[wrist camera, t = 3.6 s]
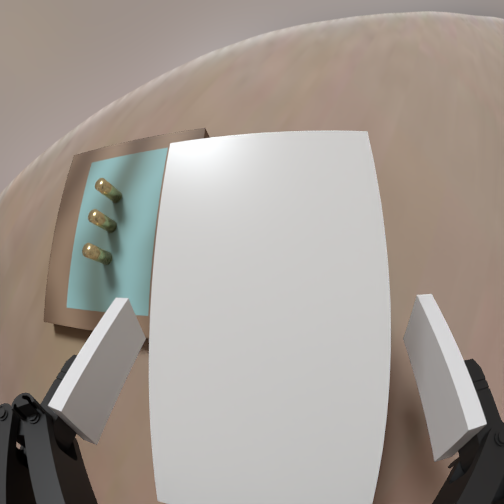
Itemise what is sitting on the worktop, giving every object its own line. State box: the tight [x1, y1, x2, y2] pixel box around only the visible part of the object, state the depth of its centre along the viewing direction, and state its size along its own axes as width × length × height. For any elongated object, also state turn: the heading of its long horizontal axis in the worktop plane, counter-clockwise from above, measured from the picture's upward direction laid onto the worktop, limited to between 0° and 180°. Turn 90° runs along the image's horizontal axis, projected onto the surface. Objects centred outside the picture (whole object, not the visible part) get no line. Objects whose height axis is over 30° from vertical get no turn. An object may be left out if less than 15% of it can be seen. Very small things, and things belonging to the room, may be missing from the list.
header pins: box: [82, 178, 122, 265], centre depth 20 cm, size 1×6×2 cm, turn 179°
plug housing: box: [149, 131, 391, 504], centre depth 12 cm, size 6×11×12 cm, turn 179°
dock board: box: [44, 128, 209, 338], centre depth 21 cm, size 14×16×1 cm
